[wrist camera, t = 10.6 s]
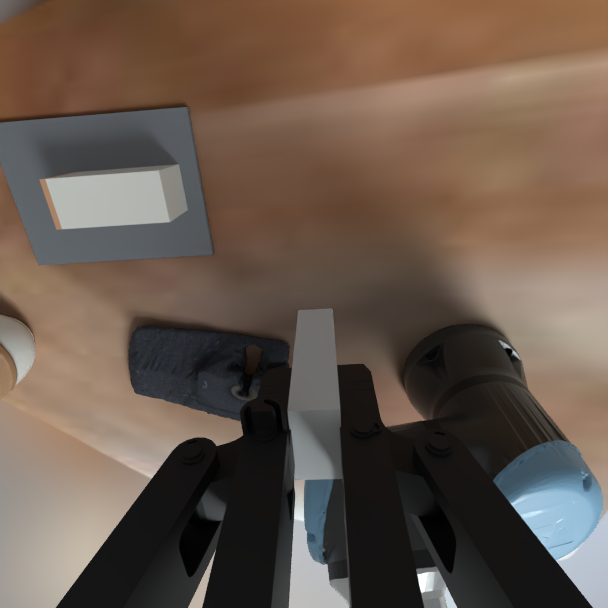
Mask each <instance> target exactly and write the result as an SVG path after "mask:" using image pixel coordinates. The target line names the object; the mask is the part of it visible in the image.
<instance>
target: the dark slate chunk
mask: <svg viewBox="0 0 608 608" xmlns="http://www.w3.org/2000/svg"><path fill="white" fill-rule="evenodd" d="M252 344H254V345H257V346H258V347H260V348H262V354H261V360H260V361H259V363H258V367H259V369H258V370H257V372H256V373H255V374H254V375H253V377H252V376H249V375H248V374H245V371H244V367H245V366H246V363H247V362H246V361H247V357H246V347H248V346H249V345H252ZM289 348H290V346H288V345H287V344H286V343H285V342H283V341H278V340H275V341H274V340H270V339H261V338H255V337H250V336H245V335H240V334H237V335H235V334H233V333H223V332H221V333H216V332H203V331H199V330H190V331H189V330H186V329H172V328H159V327H154V326H140V327H137V329H136V330H135V331H134V332H133V334H132V337H131V341H130V349H129V370H130V375H131V384H132V387H133V388H134V391H135V393H136V394H140V395H143V396H148V397H152V398H159V399H164V400H166V401H169V402H172V403H177V404H181V405H183V406H187V407H189V408H192V409H196V410H200V411H205V412H207V413H208V414H214V415H218V416H221V417H225V418H231V419H234V420H237V421H241V418H240V413H239V412H240V410H241V408H242V406H244V405H245V404H246V403H247V402H248V401H251V400H253V399H255V398H257V396H258V392H259V388H260V383H261V378H262V376H263V375H264V374H265V373H266V372H267V371H268V369H277V368H288V367H289V364H286V363H285V362H286V361H287V360H288V359H289V356H288V354H289V350H288V349H289ZM281 362H282V363H281ZM283 363H284V365H283Z"/></svg>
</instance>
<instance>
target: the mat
mask: <svg viewBox="0 0 608 608" xmlns="http://www.w3.org/2000/svg"><path fill="white" fill-rule="evenodd" d="M0 164H1V166H2V169H3V171H4V174H5V177H6V179H7V182H8V185H9V187H10V190H11V193H12V195H13V198H14V201H15V203H16V206H17V209H18V211H19V214H20V217H21V219H22V222H23V225H24V227H25V230H26V232H27V235H28V238H29V240H30V243H31V246H32V248H33V251H34V254H35V256H36V259H37V262H38V264H39V265H52V264H69V263H85V262H102V261H118V260H135V259H151V258H168V257H184V256H201V255H213V254H214V250H213V244H212V238H211V233H210V227H209V221H208V216H207V210H206V204H205V199H204V193H203V187H202V182H201V176H200V170H199V165H198V159H197V153H196V148H195V142H194V136H193V130H192V125H191V119H190V113H189V108H188V107H180V108H168V109H156V110H144V111H132V112H120V113H109V114H97V115H85V116H73V117H61V118H49V119H37V120H25V121H13V122H2V123H0ZM176 164H179V167H180V172H181V177H182V183H183V188H184V193H185V198H186V203H187V208H188V210H187V211H186V212H184V213H183V214H181V215H180V216H178V217H177V218H175V219H174V220H173V221H171V222H165V223H150V224H135V225H120V226H105V227H90V228H75V229H60V230H56V227H55V224H54V221H53V218H52V215H51V212H50V209H49V206H48V204H47V201H46V198H45V195H44V192H43V189H42V186H41V183H40V180H39V179H44V178H48V177H53V176H58V175H63V174H68V173H72V172H83V171H96V170H110V169H123V168H136V167H149V166H163V165H176Z"/></svg>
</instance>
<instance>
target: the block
mask: <svg viewBox="0 0 608 608" xmlns="http://www.w3.org/2000/svg"><path fill="white" fill-rule="evenodd" d="M39 180H40V183H41V186H42V189H43V192H44V195H45V198H46V201H47V204H48V206H49V209H50V212H51V215H52V218H53V221H54V224H55V227H56V230H60V229H75V228H90V227H105V226H120V225H135V224H150V223H165V222H171V221H173V220H174V219H175V218H177V217H178V216H180V215H181V214H183V213H184V212H186V211H187V210H188V208H187V203H186V198H185V193H184V188H183V183H182V177H181V172H180V167H179V164H176V165H163V166H149V167H136V168H123V169H110V170H96V171H83V172H72V173H68V174H63V175H58V176H53V177H48V178H44V179H39Z"/></svg>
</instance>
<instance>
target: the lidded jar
mask: <svg viewBox="0 0 608 608" xmlns="http://www.w3.org/2000/svg"><path fill="white" fill-rule="evenodd" d="M35 354H36V347H35V340H34V336H33V334H32V332H31V330H30V329H29V328H28V327H27V326H26V325H25V324H24V323H23V322H21V321H20V320H18V319H16V318H13V317H9V316H4V315H0V399H2V398H3V397H5V396H6V395H7V394H8V393H9V392H10V391H11V390H12V389H13V388H14V387H15V386H16V385H17V384H18V383H19V382H20V381H21V380H22V379H23V378H24V377H25V376H26V374H27V373H28V371H29V370H30V368H31V367H32V365H33V362H34V359H35Z"/></svg>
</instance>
